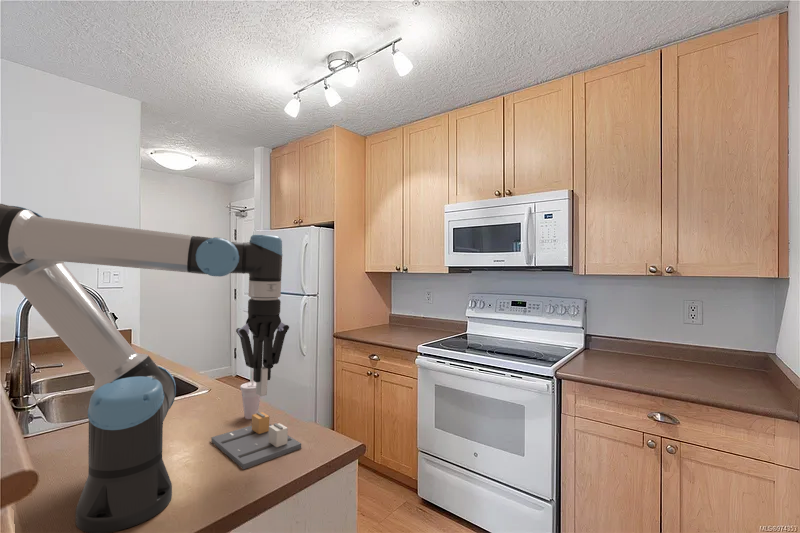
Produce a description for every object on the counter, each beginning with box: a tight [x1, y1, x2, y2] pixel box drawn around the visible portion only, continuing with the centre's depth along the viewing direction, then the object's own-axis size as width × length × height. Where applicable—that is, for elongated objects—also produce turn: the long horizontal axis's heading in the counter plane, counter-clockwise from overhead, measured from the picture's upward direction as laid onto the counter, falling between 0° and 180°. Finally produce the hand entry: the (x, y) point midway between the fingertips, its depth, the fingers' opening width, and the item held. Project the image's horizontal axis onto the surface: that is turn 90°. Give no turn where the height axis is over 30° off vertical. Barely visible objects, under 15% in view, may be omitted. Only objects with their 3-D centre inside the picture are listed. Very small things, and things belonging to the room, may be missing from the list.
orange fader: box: [251, 411, 270, 434], centre depth 108 cm, size 3×4×4 cm
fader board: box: [210, 423, 302, 470], centre depth 102 cm, size 15×19×1 cm
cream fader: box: [269, 422, 289, 447], centre depth 101 cm, size 3×4×4 cm
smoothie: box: [239, 370, 261, 420], centre depth 121 cm, size 6×6×14 cm
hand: (261, 394), depth 98 cm, fingers closed
